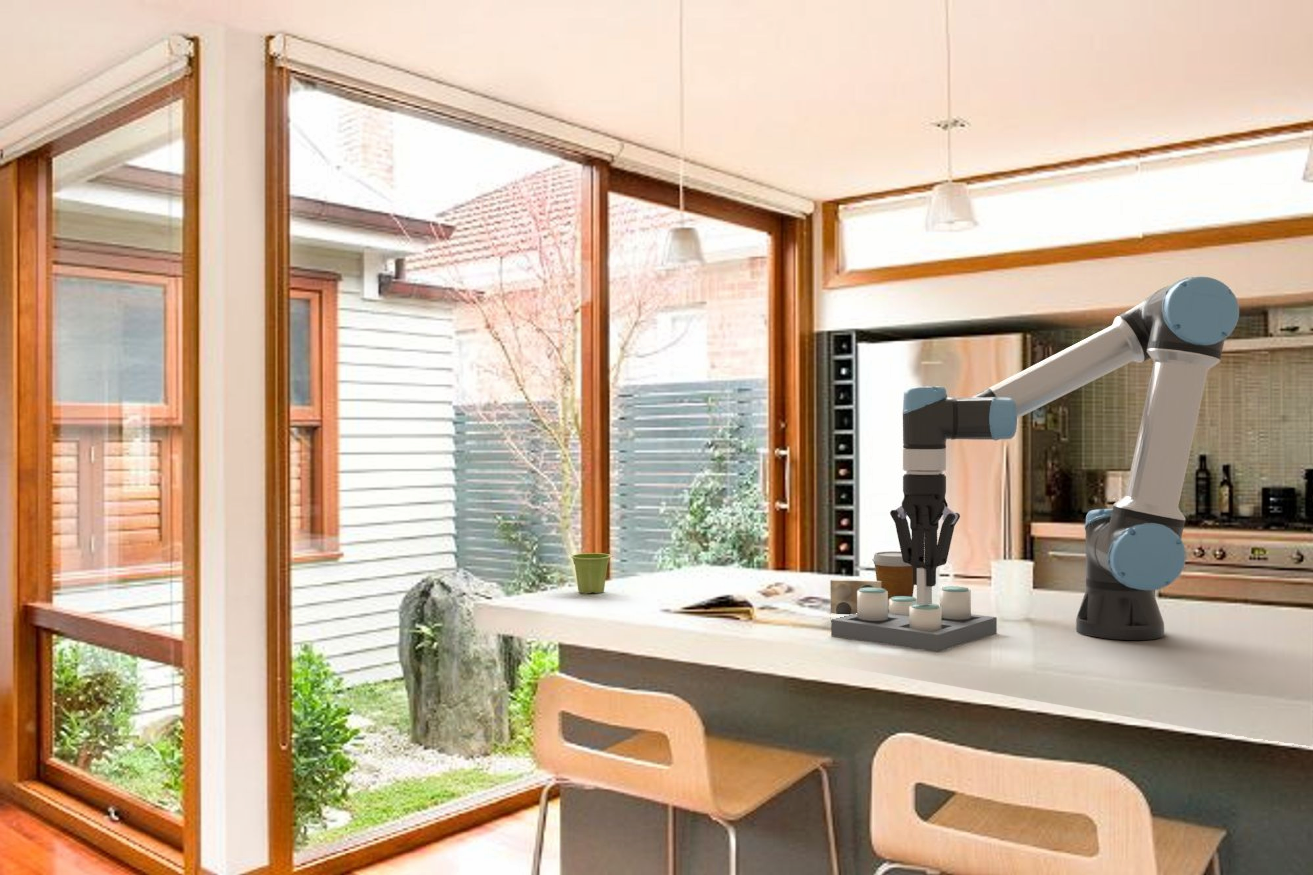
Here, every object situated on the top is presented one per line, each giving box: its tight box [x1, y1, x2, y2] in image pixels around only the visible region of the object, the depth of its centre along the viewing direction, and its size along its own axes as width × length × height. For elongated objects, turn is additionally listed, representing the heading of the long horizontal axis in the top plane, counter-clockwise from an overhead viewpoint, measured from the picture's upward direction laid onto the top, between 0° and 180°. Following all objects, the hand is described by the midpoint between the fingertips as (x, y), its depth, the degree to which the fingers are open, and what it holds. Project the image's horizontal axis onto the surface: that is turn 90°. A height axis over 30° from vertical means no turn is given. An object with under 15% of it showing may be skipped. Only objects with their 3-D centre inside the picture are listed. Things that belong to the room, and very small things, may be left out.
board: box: [830, 606, 998, 653], centre depth 202 cm, size 22×22×3 cm
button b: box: [889, 596, 917, 616], centre depth 210 cm, size 6×6×5 cm
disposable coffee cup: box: [871, 550, 915, 606], centre depth 228 cm, size 10×10×12 cm
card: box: [829, 579, 881, 614], centre depth 217 cm, size 10×1×8 cm, turn 76°
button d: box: [857, 587, 888, 621], centre depth 202 cm, size 6×6×5 cm
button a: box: [939, 585, 972, 620], centre depth 202 cm, size 6×6×5 cm
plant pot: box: [571, 552, 612, 594], centre depth 257 cm, size 9×9×9 cm
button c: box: [909, 603, 942, 632], centre depth 194 cm, size 6×6×5 cm
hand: (924, 603), depth 194 cm, fingers closed
